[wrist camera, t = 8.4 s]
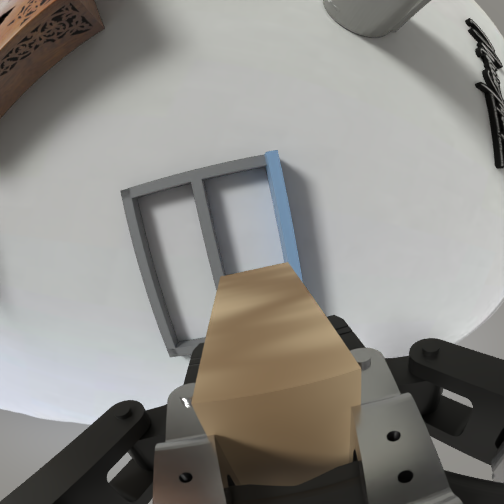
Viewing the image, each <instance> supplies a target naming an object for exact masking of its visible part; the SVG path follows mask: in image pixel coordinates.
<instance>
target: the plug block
mask: <svg viewBox="0 0 504 504" xmlns="http://www.w3.org/2000/svg"><path fill="white" fill-rule="evenodd" d="M191 404H192V406H193V408H194V410H195V413H196V415H197V417H198V419H199V421H200V423H201V425H202V427H203V429H204V431H205V433H206V435H207V436H209V435H215V437H216V439H217V441H218V443H219V445H220V447H221V449H222V451H223V452H224V454H225V456H226V458H227V460H228V462H229V464H230V466H231V467H232V469H233V471H234V473H235V475H236V476H237V478H238V480H239V482H240V484H241V485H247V484H254V485H270V486H296V485H299V484H302V483H304V482H306V481H309V480H311V479H313V478H315V477H317V476H320V475H322V474H324V473H326V472H328V471H330V470H332V469H334V468H336V467H338V466H342V465H345V464H348V463H349V450H350V424H351V407H352V406H356V405H360V404H361V367H360V366H359V364H358V363H357V361H356V360H355V358H354V357H353V355H352V354H351V352H350V351H349V349H348V348H347V346H346V345H345V343H344V342H343V340H342V339H341V337H340V336H339V334H338V333H337V332H336V330H335V329H334V327H333V326H332V324H331V323H330V321H329V320H328V318H327V317H326V316H325V314H324V313H323V311H322V310H321V308H320V307H319V305H318V304H317V303H316V301H315V300H314V298H313V297H312V295H311V294H310V293H309V291H308V290H307V288H306V287H305V285H304V284H303V283H302V281H301V280H300V278H299V277H298V275H297V274H296V273H295V271H294V270H293V268H292V267H291V266H290V264H289V263H288V262H286V263H282V264H277V265H272V266H268V267H263V268H259V269H254V270H249V271H244V272H240V273H235V274H230V275H226V276H221V277H220V280H219V284H218V288H217V292H216V297H215V301H214V305H213V309H212V313H211V318H210V322H209V326H208V330H207V335H206V339H205V343H204V348H203V352H202V357H201V361H200V365H199V370H198V374H197V379H196V384H195V388H194V393H193V398H192V402H191Z"/></svg>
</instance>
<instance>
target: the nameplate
mask: <svg viewBox="0 0 504 504" xmlns="http://www.w3.org/2000/svg"><path fill="white" fill-rule="evenodd" d="M465 22H466V24H467V25H468V26H469V27H470V26H471V27H472V28H471V29H469V30H468V32H469V33H470V34H471V35H472V36H473V38H474V39H475V40H476V41H477V42H478V43H477V46H478V48H477V49H476V50H475V52H476V55H477V56H478V57H480V56H481V58H482V60H483V63H484V67H485V70H483V71H482V74H483V77H484V80H485V82H486V84H487V85H486V84H484V83H482V82H479V83H476V84H475V86H476V88H478V89H480V90H481V91H482V92H484V93H485V98H486V102H487V107H488V113H489V118H490V125H491V131H492V139H493V148H494V159H495V166H496V168H504V100H503V98H502V95H501V91H500V85H499V84H500V81H499V79H498V78H497V74H496V71H497V68H498V69H499V68H502V67H503V66H502V63H501V62H500V60H499V58H498V57H497V55H496V54H495V50H494V48H493V46H492V44H491V42H490V41H489V39H488V38H487V36H486V35H485V34H484V32H483V31H482V30H481V29H480V27H479V26H478V25H477V24H476V23H475V22H474V21H473V20H472V19H470V18H469V19H467V20H465ZM496 67H497V68H496Z"/></svg>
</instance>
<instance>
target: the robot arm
mask: <svg viewBox="0 0 504 504" xmlns="http://www.w3.org/2000/svg"><path fill="white" fill-rule="evenodd" d="M430 1H431V0H323V4H324V7H325V9H326V10H327V12H328V13H329V15H330V16H331V17H332V18H333V19H334V20H335V21H336V22H338V23H339V24H340V25H342V26H343V27H345V28H346V29H348V30H350V31H352V32H354V33H357V34H359V35H362V36H366V37H381V36H384V35H386V34H387V33H388V32H390V31H394V32H396V31H397V30H398V29H399V28H400V27H401V26H403V25H404V24H405V23H406V22H407V21H408V20H409V19H410V18H411V17H413V16H414V15H415V14H416V13H417V12H418V11H419V10H420V9H422V8H423V7H424V6H425V5H426V4H427V3H429V2H430ZM327 318H328V320H329V321H330V323H331V324H332V326H333V327H334V329H335V330H336V332H337V333H338V334H339V336H340V337H341V339H342V340H343V342H344V343H345V345H346V346H347V348H348V349H349V351H350V352H351V354H352V355H353V357H354V358H355V360H356V361H357V363H358V364H359V366H360V367H361V404H360V405H356V406H352V407H351V424H350V450H349V463H348V464H345V465H342V466H338V467H336V468H334V469H332V470H330V471H328V472H326V473H324V474H322V475H320V476H317V477H315V478H313V479H311V480H309V481H306V482H304V483H302V484H299V485H296V486H270V485H254V484H247V485H241V484H240V482H239V480H238V478H237V476H236V475H235V473H234V471H233V469H232V467H231V466H230V464H229V462H228V460H227V458H226V456H225V454H224V452H223V451H222V449H221V447H220V445H219V443H218V441H217V439H216V437H215V435H209V436H207V435H206V433H205V431H204V429H203V427H202V425H201V423H200V421H199V419H198V417H197V415H196V413H195V410H194V408H193V406H192V404H191V402H192V398H193V393H194V388H195V384H196V379H197V374H198V370H199V365H200V361H201V357H202V352H203V348H204V343H205V342H204V343H199V344H198V346H197V347H196V348H195V349H194V350H193V352H192V355H191V360H190V363H189V366H188V370H187V374H186V377H185V381H184V385H182V386H180V387H178V388H176V389H175V390H174V391H173V392H172V393H171V394H170V395H169V397H168V401H167V404H166V405H164V406H161V407H157V408H154V409H150V410H145V409H144V407H143V405H142V404H141V403H140V402H138V401H134V400H127V401H122V402H119V403H117V404H115V405H114V406H112V407H111V408H110V409H109V410H108V411H106V412H105V413H104V414H103V415H102V416H101V417H100V418H98V419H97V420H96V421H95V422H94V423H93V424H92V425H91V426H89V427H88V428H87V429H86V430H85V431H84V432H83V433H82V434H80V435H79V436H78V437H77V438H76V439H75V440H73V441H72V442H71V443H70V444H69V445H68V446H66V447H65V448H64V449H63V450H62V451H61V452H60V453H58V454H57V455H56V456H55V457H54V458H52V459H51V460H50V461H49V462H48V463H46V464H45V465H44V466H43V467H42V468H40V469H39V470H38V471H37V472H36V473H35V474H33V475H32V476H31V477H30V478H29V479H27V480H26V481H25V482H24V483H22V484H21V485H20V486H19V487H18V488H16V489H15V490H14V491H13V492H11V493H10V494H9V495H8V496H7V497H5V498H4V499H3V500H2V501H1V502H0V504H148V503H149V502H150V500H151V499H152V498H153V504H504V360H502V359H499V358H496V357H493V356H490V355H486V354H483V353H480V352H477V351H474V350H470V349H468V348H465V347H461V346H458V345H455V344H452V343H449V342H446V341H443V340H440V339H435V338H428V339H423V340H420V341H418V342H416V343H414V344H413V345H412V346H411V348H410V351H409V356H404V357H398V358H384V356H383V355H382V353H381V352H379V351H378V350H375V349H372V348H365V346H364V345H363V344H362V342H361V341H360V340H359V339H358V337H357V336H356V335H355V333H354V332H352V330H351V328H350V327H348V325H347V323H346V322H345V321H344V319H342V318H340V317H337V316H335V315H332V316H328V317H327ZM443 388H444V389H447V390H449V391H451V392H454V393H456V394H458V395H461V396H463V397H466V398H468V399H469V400H470V401H471V402H472V405H473V408H471V407H468V406H466V405H463V404H461V403H459V402H456V401H454V400H452V399H449V398H447V397H445V396H442V392H443ZM430 436H432V437H434V438H435V439H437V440H439V441H441V442H443V443H445V444H447V445H449V446H451V447H453V448H455V449H457V450H459V451H461V452H463V453H465V454H467V455H469V456H472V457H474V458H476V459H478V460H480V461H483V462H485V463H487V464H489V465H491V467H492V472H493V474H492V479H493V481H489V480H483V479H478V478H474V477H469V476H465V475H461V474H457V473H453V472H449V471H445V470H444V469H443V467H442V464H441V462H440V459H439V457H438V454H437V451H436V449H435V447H434V444H433V442H432V440H431V437H430ZM127 452H128V453H129V454H130V456H131V457H132V459H131V460H130V461H129V462H128V464H127V465H126V466H125V467H124V468H123V469H122V470H121V471H120V472H119V473H118V474H117V475H116V476H115V477H114V478H113V479H112V480H111V481H110V482H109V483H108V482H107V473H108V471H109V470H110V469H111V468H112V467H113V466H114V465H115V464H116V463H117V462H118V461H119V460H120V459H121V458H122V457H123V456H124V455H125V454H126V453H127ZM501 482H503V483H501Z"/></svg>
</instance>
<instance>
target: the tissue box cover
mask: <svg viewBox="0 0 504 504" xmlns="http://www.w3.org/2000/svg"><path fill="white" fill-rule="evenodd" d="M103 29H105V28H104V26H103V23H102V20H101V18H100V15H99V12H98V9H97V7H96V4H95V1H94V0H0V118H1V117H2V116H3V115H4V114H5V113H6V111H7V110H8V109H9V108H10V107H11V106H12V105H13V104H14V103H15V102H16V101H17V100H18V98H19V97H20V96H21V95H22V94H23V93H24V92H25V91H26V90H27V89H28V88H29V87H30V86H32V85H33V84H34V83H35V82H36V81H37V80H38V79H39V78H40V77H41V76H42V75H43V74H45V73H46V72H47V71H48V70H49V69H50V68H51V67H53V66H54V65H55V64H56V63H57V62H59V61H60V60H61V59H62V58H64V57H65V56H66V55H67V54H69V53H70V52H71V51H73V50H74V49H75V48H77V47H78V46H80V45H81V44H82V43H84V42H85V41H87V40H88V39H89V38H91V37H92V36H94V35H95V34H97V33H98V32H100V31H102V30H103Z"/></svg>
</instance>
